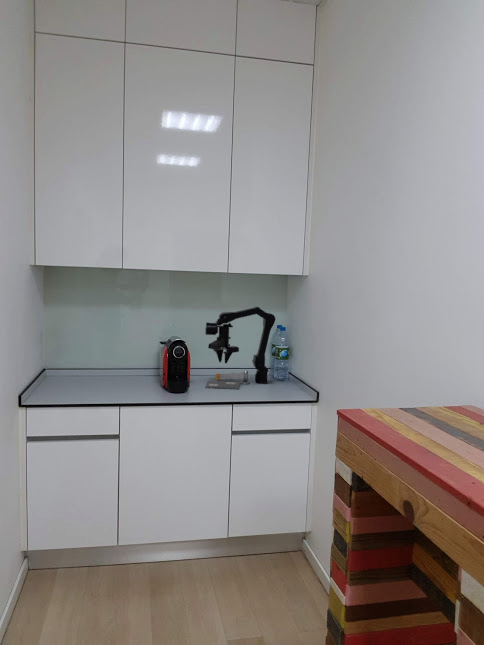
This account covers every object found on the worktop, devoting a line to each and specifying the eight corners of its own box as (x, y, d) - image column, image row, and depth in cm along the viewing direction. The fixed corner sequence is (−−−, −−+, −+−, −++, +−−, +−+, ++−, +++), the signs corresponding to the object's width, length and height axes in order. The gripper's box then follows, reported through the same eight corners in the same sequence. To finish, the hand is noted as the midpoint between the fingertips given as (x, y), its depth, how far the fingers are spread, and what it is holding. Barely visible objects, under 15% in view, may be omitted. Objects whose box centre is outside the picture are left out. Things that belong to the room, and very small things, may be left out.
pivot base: (249, 382, 282) (250, 381, 282) (249, 384, 277) (249, 383, 277) (241, 382, 282) (241, 381, 282) (240, 384, 277) (240, 383, 277)
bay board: (240, 383, 278) (240, 381, 278) (239, 389, 265) (239, 387, 264) (207, 381, 279) (207, 380, 279) (205, 387, 265) (205, 386, 265)
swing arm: (246, 381, 281) (247, 370, 280) (248, 382, 279) (248, 371, 278) (215, 383, 273) (215, 372, 273) (216, 384, 271) (217, 373, 271)
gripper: (201, 334, 277) (200, 361, 279) (225, 338, 265) (225, 367, 266) (215, 332, 285) (215, 359, 287) (240, 336, 273) (239, 364, 275)
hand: (222, 362), depth 278 cm, fingers open, 4 cm apart
